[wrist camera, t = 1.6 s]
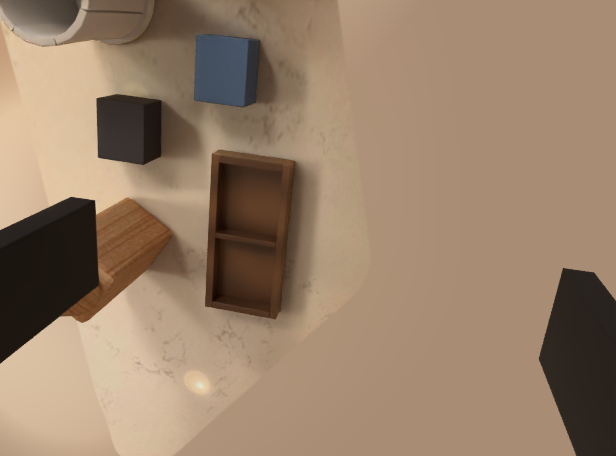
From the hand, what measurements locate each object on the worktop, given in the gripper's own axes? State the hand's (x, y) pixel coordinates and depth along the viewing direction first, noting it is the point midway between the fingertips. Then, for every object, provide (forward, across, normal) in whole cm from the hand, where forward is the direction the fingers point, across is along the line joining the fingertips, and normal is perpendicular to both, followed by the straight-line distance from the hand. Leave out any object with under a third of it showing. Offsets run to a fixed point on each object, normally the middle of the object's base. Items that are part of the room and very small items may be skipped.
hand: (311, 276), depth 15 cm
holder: (+41, -12, -15) cm, 45 cm away
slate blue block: (+41, -15, +2) cm, 43 cm away
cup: (+41, -27, +8) cm, 50 cm away
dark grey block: (+41, -25, -5) cm, 48 cm away
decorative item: (+41, -26, -17) cm, 51 cm away
